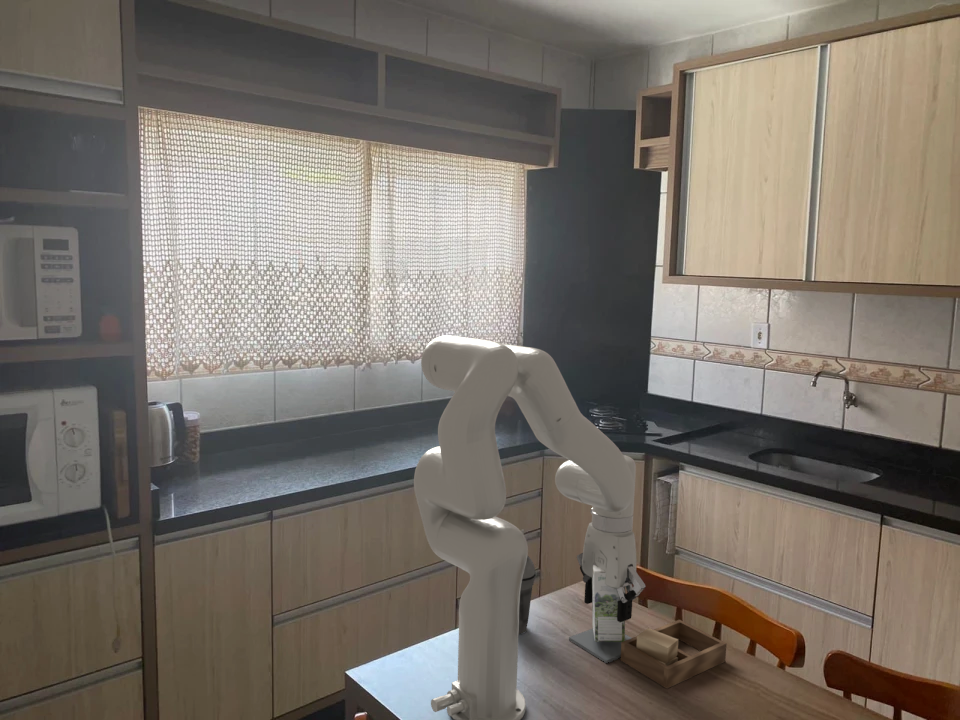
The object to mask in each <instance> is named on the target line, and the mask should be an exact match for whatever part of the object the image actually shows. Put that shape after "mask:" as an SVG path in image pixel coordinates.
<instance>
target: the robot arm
mask: <svg viewBox="0 0 960 720" xmlns="http://www.w3.org/2000/svg"><path fill="white" fill-rule="evenodd" d="M421 356H422V357H421V358H420V359H421V370H422V373H423V375H424V377H425V378H426V380H427V382H429V383H430V384H431V385H432V386H434V387H436V388H438V389H442V390H445V391H451V392H454V393H453V395H452V396H451V398H450V400H449V401H448V403H447V404H446V407H445V408H444V410H443V412H442V414H441V416H440V418H439V422H438V426H437V439H438V445H439V446H435V447H431V448H430V449H428V450H427V451H426V452H424V453H423V455H421V457H420V458H419V460H418V462H417V464H416V466H415V467H416V468H415V470H414V477H413V489H414V490H413V491H414V495H415V499H416V503H417V506H418V510H419V515H420V518H421V522H422V527H423V530H424V534H425V537H426V540H427V543H428V545H429V548H430V549H431V550H432V552H433V553H434V554H435V555H436V556H437V557H438V558H440V559H441V560H443V561H445V562H446V563H449V564H451V565H453V566H455V567H458V568H459V569H461V570H462V571H464V572H466V573H468V574H469V582H468V583H467V585H466V587H465V588H464V589H463V590H462V593H461V595H460V598H459V599H460V600H459V606H458V608H459V609H458V648H457V649H458V652H457V653H458V654H457V680H455V681H452V682H451V689H450V690H448V691H447V692H446V694H445V695H441V696H437V697H435V698H432V699H431V700H430V706H431V709H432V711H433V712H435V713H437V712H440V711H442V710H445V709H446V712H447V714H448V716H449V717H451V718H452V719H453V720H521V719H523V717H524V715H525V714H526V708H527V707H526V706H527V705H526V703H527V702H526V698H525V697H524V695H523V693H522V692H521V691H520V690H519V689H518V688H517V686H518V684H517V683H518V659H519V658H518V656H519V634H518V633H519V603H520V590H521V583H522V578H523V573H524V569H525V565H526V561H527V556H529V554H528V553H529V546H528V541H527V538H526V537H525V534H524V535H523V533H522V532H521V530H520V528H518V527H517V526H516V525H514V524H513V523H511V522H509V521H507V520H505V519H503V518H500V517H498V515H499V514H500V513H501V512H502V511H503V509H504V507H505V505H506V500H507V488H506V487H507V486H506V480H505V477H504V476H505V475H504V471H503V467H502V460H501V457H500V452H499V447H498V444H497V435H496V424H497V423H496V421H497V418H498V414H499V412H500V410H501V408H502V405H503V404H504V402H505V401H506V399H507V398H508V397H510V398H512V399H513V400H514V401H515V402H516V404H517V405H518V407H519V409H520V412H521V413H522V414H523V416H524V418H525V419H526V421H527V423H528V425H529V427H530V429H531V431H532V433H533V434H534V436H535V438H536V440H538V441H539V442H540V443H541V444H542V445H544V446H545V447H546V448H548V449H549V450H551V451H552V452H554V453H555V454H557V455H558V456H560V457H562V458H564V459H567V460H565V461H564V462H563V463H562V464H561V465H559V467H558V468H557V470H556V472H555V476H554V483H555V484H554V485H555V486H556V489H557V491H558V492H559V493H560V494H561V495H562V496H564V497H565V498H567V499H568V500H573V501H576V502H578V503H581V504H585V505H589V506H591V507H592V508H590V511H589V512H590V514H591V522H589V523H588V525H587V529H586V532H585V538H584V542H583V549H582V550H583V551H582V553H579V554H577V555H576V558H577V562H578V565H579V566H580V567H579V569H580V572H581V574H582V581H583V582H584V583H585V584H584V598H583V599H584V604H586V605H588V604H592V578H593V564H594V565H595V566H598V567H599V568H601V569H602V570H604V571H605V573H606V577H605V584H606V585H607V586H609V587H611V588H614V589H617V590H618V593H619V596H620V599H621V600H620V601H618V609H617V621H618V622H623V621H625V622H626V621H628V620H631V618H632V616H633V614H632V613H633V601H634V600H636V598H637V597H639V596H640V595H641V593H643V591H644V590H645V589H646V583H644V581H643V579H642V578H641V576H640V575H639V574H638V572H637V546H636V536H635V531H633V528H634V527H633V526H634V511H635V510H634V508H635V493H636V475H637V464H636V462H635V460H634V459H633V458H632V457H630V456H629V455H625V454H623V453H622V451H621V450H620V449H619V447H618V446H617V445H616V444H615V443H614V442H613V440H611V439H610V438H609V437H608V436H607V435H606V434H604V433H603V431H601V430H600V429H599V427H597V426H596V425H595V424H594V423H593V422H592V421H590V420H589V419H588V418H587V417H585V416H584V415H583V413H581V411H580V409H579V407H578V405H577V403H576V400H575V399H574V397H573V395H572V393H571V391H570V388H569V387H568V385H567V383H566V381H565V379H564V377H563V375H562V372H561V371H560V369H559V367H558V365H557V363H556V362H555V360H554V358H553V357H552V356H551V355H550V354H549V353H548V352H546V351H544V350H542V349H540V348H536V347H529V346H524V345H523V346H522V345H515V344H507V343H500V342H497V341H494V340H490V339H482V338H472V337H464V336H459V335H458V336H456V335H450V334H445V335H440V336H437V337H436V338H434V339H432V340H431V341H430V342H429V343H428V344H427V345H426V347H425V348H424V350H423V352H422V355H421ZM623 587H625V591H624V588H623ZM626 591H627V592H626Z"/></svg>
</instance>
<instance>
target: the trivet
mask: <svg viewBox="0 0 960 720" xmlns="http://www.w3.org/2000/svg"><path fill="white" fill-rule="evenodd" d="M631 638H632V637H631V636H629V635H627V634H626V633H625V641H626V640H628V639H631ZM568 640H569V641H570V642H571V641H572V642H571V643H573V644H574V643H575V644H574V645H576V646H578V647H579V648H581V649H582V648H583V649H582V650H584V651H586V652H587V653H589V654H591V655H592V656H593V655H594V656H593V657H595V658H597V659H598V658H599V659H598V660H600V661H601V660H602V662H603V661H604V662H603V663H605V664H606V663H607V664H609V663H611V662H613V660H614V661H616V660H619V659H621V658H620V657H621V642H595V639H594V631H593V628H590V629H588V630H585V631H582V632H579V633H575V634H572V635H571V636H569V637H568ZM618 658H619V659H618ZM608 662H609V663H608Z"/></svg>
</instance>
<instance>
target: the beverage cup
mask: <svg viewBox="0 0 960 720" xmlns="http://www.w3.org/2000/svg"><path fill="white" fill-rule="evenodd" d="M520 531H521V532H522V533H523V535H524V536H525V529H521V530H520ZM534 564H535V563H534V562H533V560H532V558H531V557H530V556H529V555H528V556H527V561H526V565H525V569H524V573H523V578H522V583H521V590H520V603H519V633H518V635H522V634H525V633H526V632H527V628H528V624H529V617H530V609H531V600H532V593H533V586H534V583H535V579H536V570H535V565H534Z"/></svg>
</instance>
